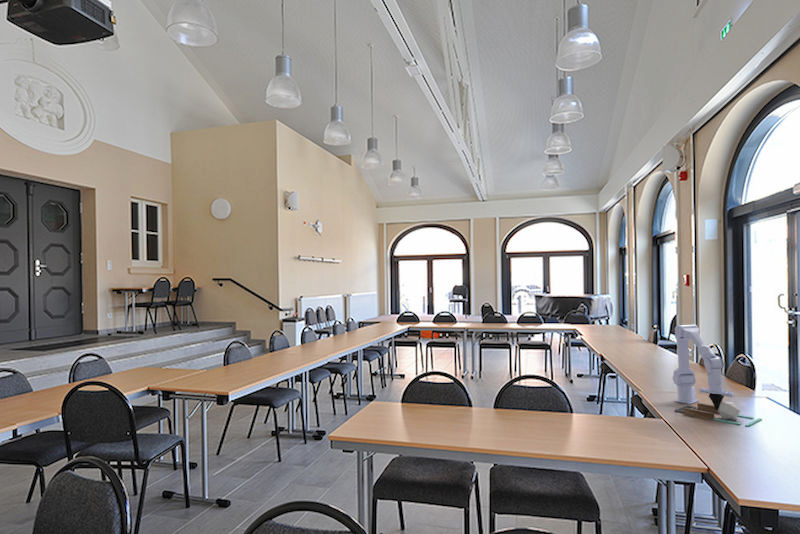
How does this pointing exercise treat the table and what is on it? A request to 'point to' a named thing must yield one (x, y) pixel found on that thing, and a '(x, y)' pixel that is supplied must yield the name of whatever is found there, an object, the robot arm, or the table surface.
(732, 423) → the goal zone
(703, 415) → the channel
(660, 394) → the table surface
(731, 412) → the die
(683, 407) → the grey flat rectangular tray
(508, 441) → the table surface
